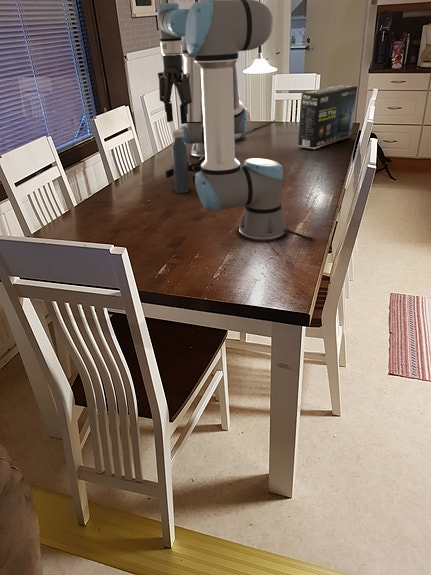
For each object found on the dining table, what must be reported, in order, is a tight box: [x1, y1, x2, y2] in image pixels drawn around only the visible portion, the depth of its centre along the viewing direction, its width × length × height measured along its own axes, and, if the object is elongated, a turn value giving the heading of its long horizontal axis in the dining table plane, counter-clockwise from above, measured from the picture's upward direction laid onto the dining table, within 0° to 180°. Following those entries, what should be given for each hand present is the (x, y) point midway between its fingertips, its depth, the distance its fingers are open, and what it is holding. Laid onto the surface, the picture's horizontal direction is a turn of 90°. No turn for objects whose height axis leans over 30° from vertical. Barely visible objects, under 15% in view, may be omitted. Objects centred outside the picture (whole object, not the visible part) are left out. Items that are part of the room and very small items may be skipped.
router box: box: [297, 84, 358, 151], centre depth 238 cm, size 36×11×27 cm, turn 134°
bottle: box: [171, 137, 190, 194], centre depth 181 cm, size 6×6×23 cm
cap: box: [171, 129, 184, 138], centre depth 176 cm, size 4×4×2 cm
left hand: (179, 176), depth 183 cm, fingers open, 13 cm apart
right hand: (177, 122), depth 174 cm, fingers open, 7 cm apart
